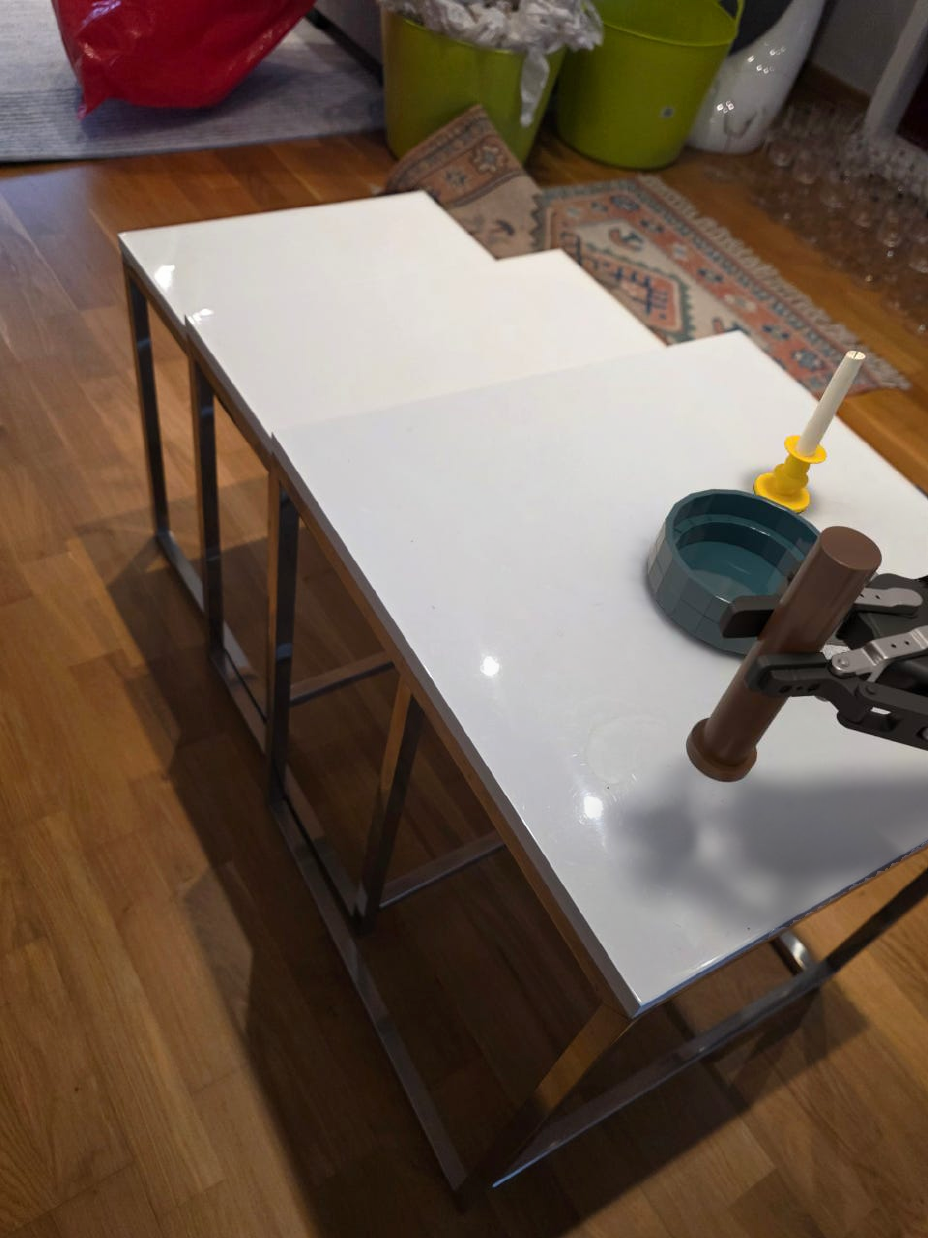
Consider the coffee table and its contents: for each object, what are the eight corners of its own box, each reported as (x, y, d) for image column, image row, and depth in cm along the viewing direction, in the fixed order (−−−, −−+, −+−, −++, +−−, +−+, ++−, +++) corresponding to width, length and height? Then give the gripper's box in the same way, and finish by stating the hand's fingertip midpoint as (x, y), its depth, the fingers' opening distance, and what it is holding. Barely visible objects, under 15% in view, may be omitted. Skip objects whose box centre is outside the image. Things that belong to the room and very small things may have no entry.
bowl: (849, 635, 77) (879, 593, 74) (712, 679, 72) (738, 635, 68) (744, 520, 85) (766, 476, 82) (613, 551, 79) (631, 505, 76)
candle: (744, 494, 88) (819, 345, 77) (765, 469, 91) (840, 323, 80) (796, 522, 86) (880, 375, 75) (815, 495, 90) (899, 350, 78)
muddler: (764, 771, 57) (911, 567, 44) (711, 791, 55) (848, 586, 43) (724, 719, 59) (853, 511, 46) (672, 737, 57) (792, 526, 45)
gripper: (985, 498, 55) (714, 498, 50) (1143, 693, 46) (831, 715, 42) (917, 589, 60) (667, 596, 56) (1047, 779, 51) (762, 806, 47)
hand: (739, 646), depth 49 cm, fingers closed on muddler, 3 cm apart
